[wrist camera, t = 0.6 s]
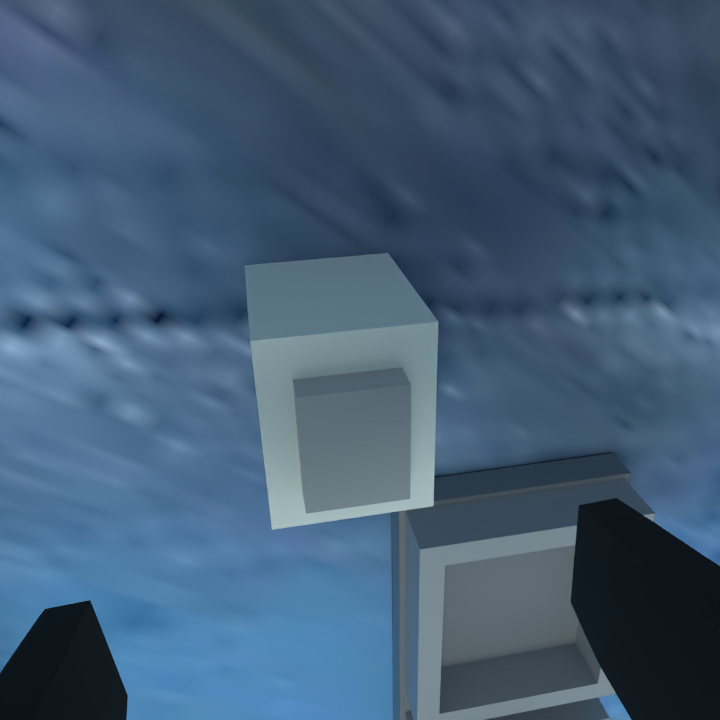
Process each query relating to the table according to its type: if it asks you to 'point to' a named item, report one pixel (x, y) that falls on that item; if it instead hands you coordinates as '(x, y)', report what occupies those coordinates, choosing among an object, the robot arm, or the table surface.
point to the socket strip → (498, 595)
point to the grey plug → (343, 387)
